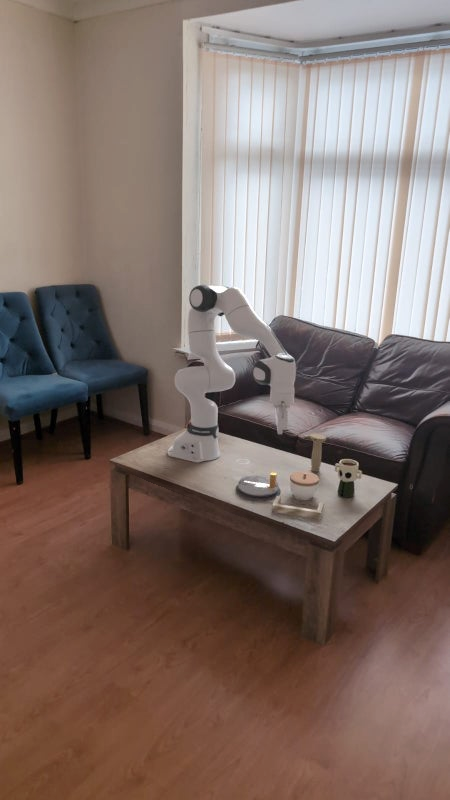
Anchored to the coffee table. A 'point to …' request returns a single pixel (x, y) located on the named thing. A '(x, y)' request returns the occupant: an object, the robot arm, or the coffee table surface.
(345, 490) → the character mug
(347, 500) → the coffee table surface
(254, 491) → the turntable
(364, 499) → the coffee table surface
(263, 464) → the coffee table surface
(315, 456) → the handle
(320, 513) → the cream u-shaped bracket
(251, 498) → the base
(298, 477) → the lidded jar
